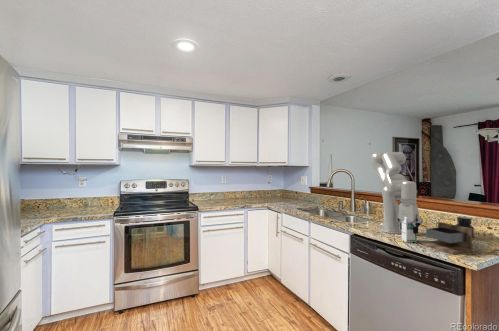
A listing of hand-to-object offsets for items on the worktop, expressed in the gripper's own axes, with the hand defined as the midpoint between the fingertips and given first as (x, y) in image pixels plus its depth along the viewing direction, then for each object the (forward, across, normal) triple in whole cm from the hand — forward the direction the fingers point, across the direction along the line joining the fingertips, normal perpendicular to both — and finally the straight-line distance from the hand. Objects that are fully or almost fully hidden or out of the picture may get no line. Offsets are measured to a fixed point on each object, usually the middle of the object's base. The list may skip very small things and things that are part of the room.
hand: (408, 231), depth 141 cm
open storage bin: (+1, +15, +8) cm, 17 cm away
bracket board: (+6, +15, +8) cm, 18 cm away
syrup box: (+6, 0, 0) cm, 6 cm away
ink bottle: (+6, +2, +45) cm, 45 cm away
